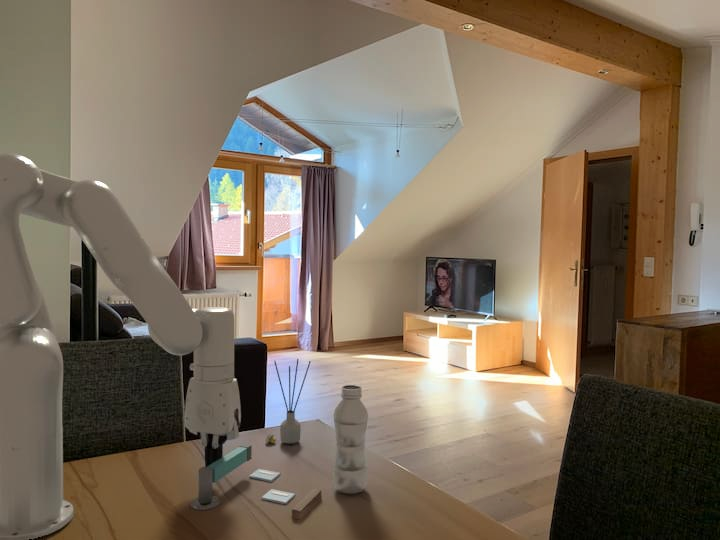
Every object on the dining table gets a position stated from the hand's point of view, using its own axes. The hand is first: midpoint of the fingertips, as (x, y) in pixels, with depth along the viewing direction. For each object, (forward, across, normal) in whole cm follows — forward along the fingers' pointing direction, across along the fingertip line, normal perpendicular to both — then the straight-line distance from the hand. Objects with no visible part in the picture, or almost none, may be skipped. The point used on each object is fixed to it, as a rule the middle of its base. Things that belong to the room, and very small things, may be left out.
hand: (213, 465), depth 106 cm
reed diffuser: (+4, +4, +24) cm, 24 cm away
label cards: (+4, +11, +3) cm, 12 cm away
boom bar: (+3, +3, -1) cm, 5 cm away
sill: (+4, +21, -2) cm, 21 cm away
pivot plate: (+4, +3, -7) cm, 9 cm away
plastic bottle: (+4, +25, +8) cm, 27 cm away
